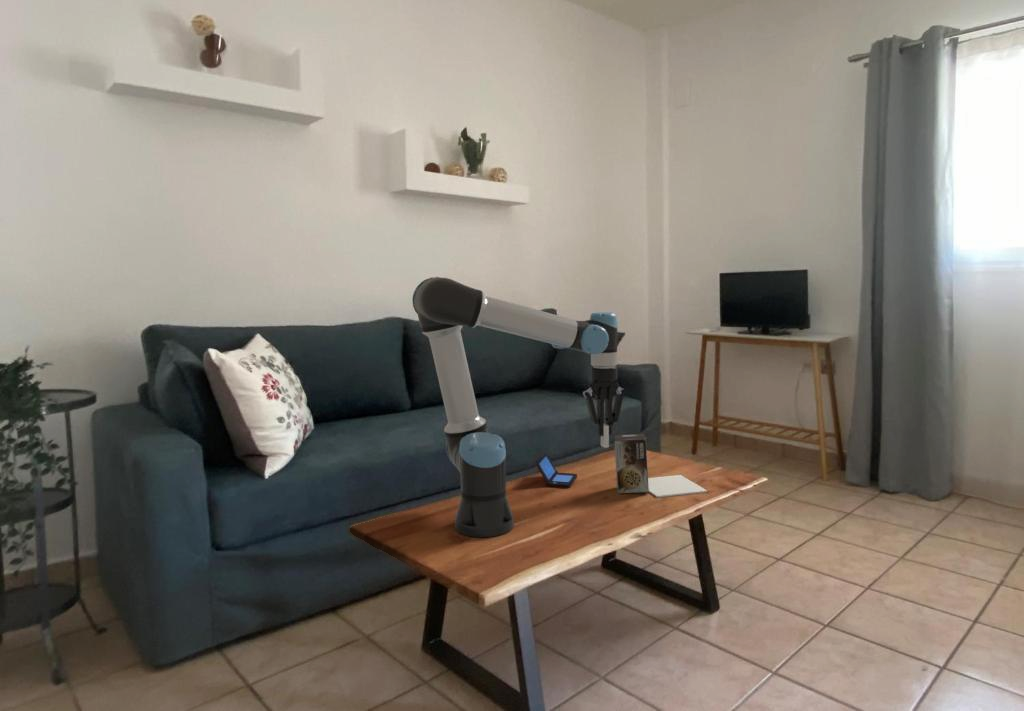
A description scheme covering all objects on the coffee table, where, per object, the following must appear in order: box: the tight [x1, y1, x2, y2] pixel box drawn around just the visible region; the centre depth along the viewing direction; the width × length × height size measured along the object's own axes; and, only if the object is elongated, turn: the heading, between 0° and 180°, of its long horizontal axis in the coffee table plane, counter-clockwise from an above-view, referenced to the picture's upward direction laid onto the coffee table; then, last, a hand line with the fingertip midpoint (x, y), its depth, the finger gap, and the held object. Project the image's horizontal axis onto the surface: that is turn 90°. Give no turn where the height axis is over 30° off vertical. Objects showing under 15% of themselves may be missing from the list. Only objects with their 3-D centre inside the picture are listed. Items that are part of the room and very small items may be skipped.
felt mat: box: [648, 474, 708, 499], centre depth 201 cm, size 16×16×1 cm
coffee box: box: [613, 433, 650, 494], centre depth 197 cm, size 9×6×16 cm
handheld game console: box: [535, 453, 578, 489], centre depth 208 cm, size 12×11×7 cm
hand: (604, 446), depth 195 cm, fingers closed
